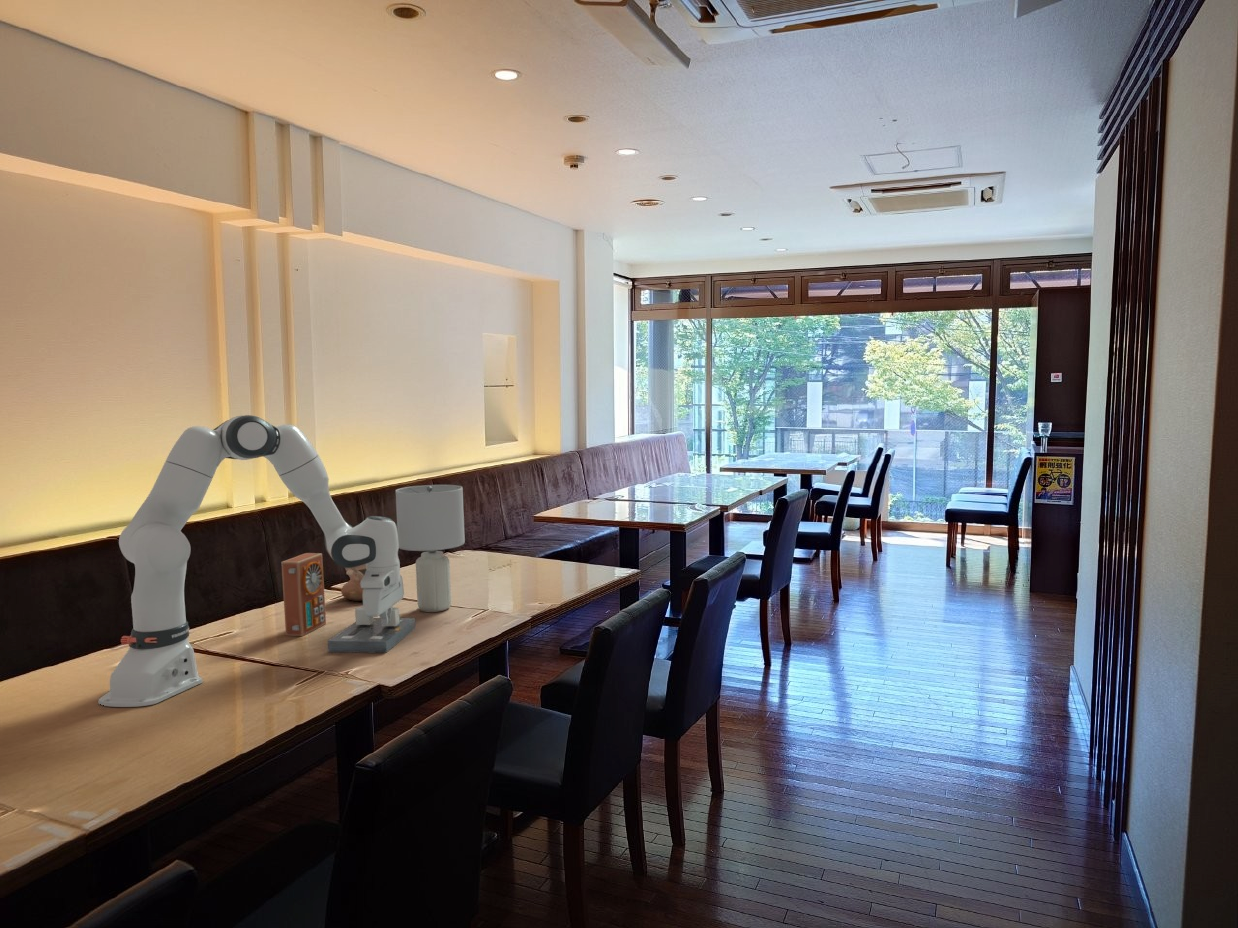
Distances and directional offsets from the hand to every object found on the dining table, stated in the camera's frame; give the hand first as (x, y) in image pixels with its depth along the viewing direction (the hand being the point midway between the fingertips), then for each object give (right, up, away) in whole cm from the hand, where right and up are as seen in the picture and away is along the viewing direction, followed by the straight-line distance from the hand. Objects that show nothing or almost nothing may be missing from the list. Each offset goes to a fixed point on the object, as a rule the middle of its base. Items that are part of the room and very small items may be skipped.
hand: (386, 623), depth 230 cm
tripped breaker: (0, -1, +4) cm, 4 cm away
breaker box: (-4, -5, +2) cm, 6 cm away
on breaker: (-8, -1, +6) cm, 10 cm away
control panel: (-27, -4, +13) cm, 30 cm away
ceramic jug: (-20, -1, +48) cm, 53 cm away
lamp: (+6, -2, +33) cm, 33 cm away
